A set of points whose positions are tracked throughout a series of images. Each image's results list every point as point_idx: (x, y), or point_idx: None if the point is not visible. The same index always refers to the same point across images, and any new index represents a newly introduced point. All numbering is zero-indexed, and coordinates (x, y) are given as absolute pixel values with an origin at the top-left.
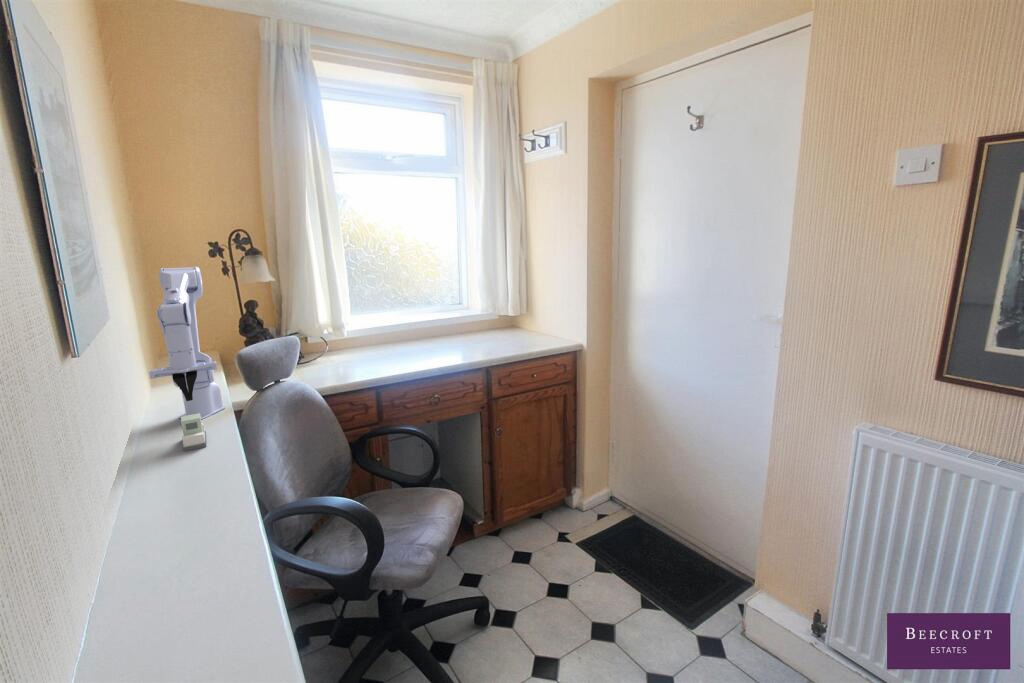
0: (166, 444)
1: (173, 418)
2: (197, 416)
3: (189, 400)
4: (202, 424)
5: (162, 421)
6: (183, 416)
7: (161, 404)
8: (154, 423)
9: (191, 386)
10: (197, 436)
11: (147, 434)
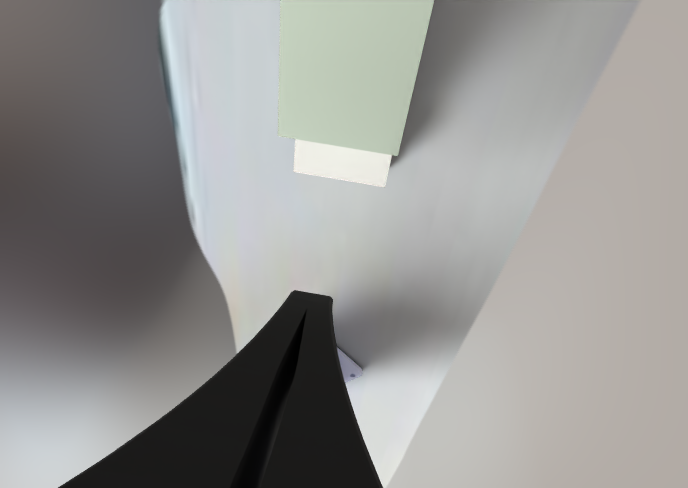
0: (456, 163)
1: (374, 379)
2: (298, 46)
3: (311, 294)
4: (298, 142)
5: (403, 378)
6: (386, 142)
7: (378, 465)
8: (425, 378)
9: (226, 387)
10: None
11: (469, 313)
